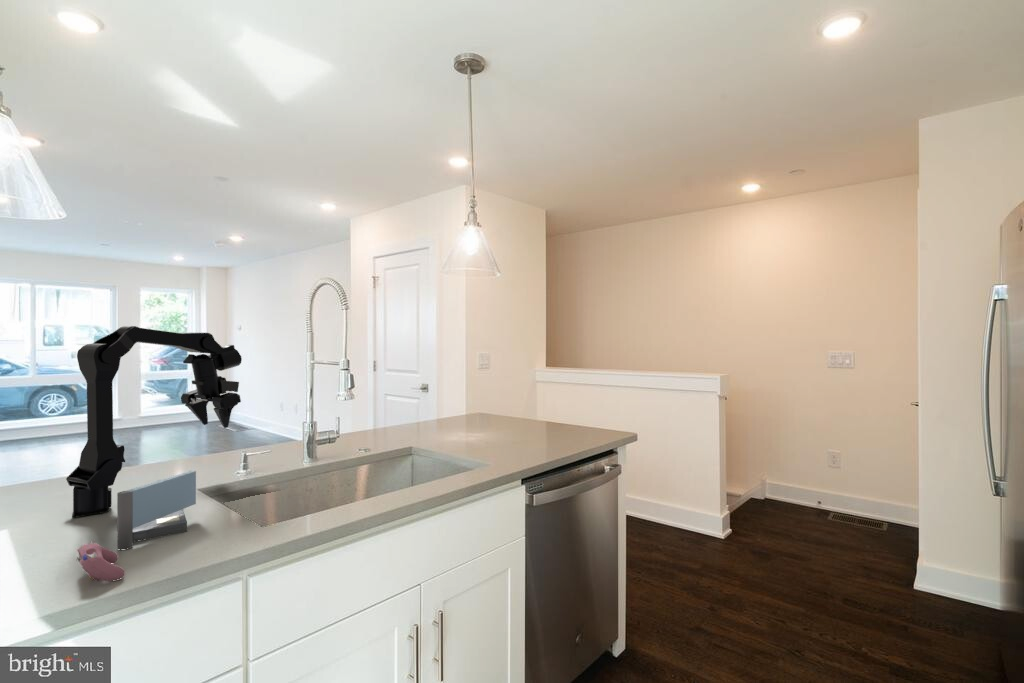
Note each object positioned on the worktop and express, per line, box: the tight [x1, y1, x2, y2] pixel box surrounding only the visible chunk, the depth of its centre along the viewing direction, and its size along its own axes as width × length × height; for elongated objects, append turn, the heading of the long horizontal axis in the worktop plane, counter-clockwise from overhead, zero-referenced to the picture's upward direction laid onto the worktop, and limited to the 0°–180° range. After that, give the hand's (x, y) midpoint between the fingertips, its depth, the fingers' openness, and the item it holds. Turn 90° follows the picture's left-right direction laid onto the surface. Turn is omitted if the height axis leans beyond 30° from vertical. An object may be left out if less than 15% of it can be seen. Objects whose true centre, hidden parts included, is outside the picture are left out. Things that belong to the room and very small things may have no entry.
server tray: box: [133, 509, 188, 542], centre depth 111 cm, size 11×18×2 cm, turn 37°
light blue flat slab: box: [116, 470, 197, 551], centre depth 106 cm, size 17×2×11 cm, turn 167°
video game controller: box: [76, 540, 126, 582], centre depth 87 cm, size 10×5×7 cm, turn 45°
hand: (215, 425), depth 147 cm, fingers open, 9 cm apart
